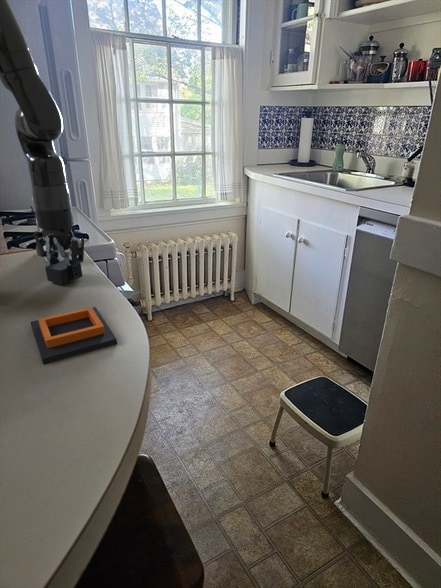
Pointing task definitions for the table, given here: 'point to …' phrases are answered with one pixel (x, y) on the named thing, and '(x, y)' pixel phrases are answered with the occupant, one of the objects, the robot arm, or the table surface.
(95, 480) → the table surface
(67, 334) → the base pad
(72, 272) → the robot arm
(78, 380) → the table surface
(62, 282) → the dark gray block
